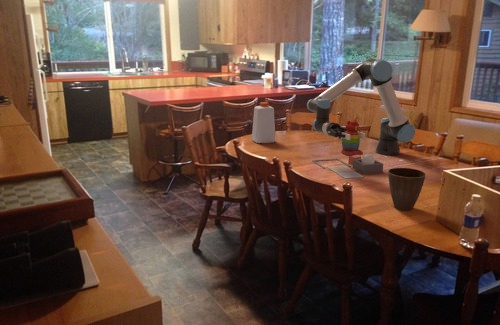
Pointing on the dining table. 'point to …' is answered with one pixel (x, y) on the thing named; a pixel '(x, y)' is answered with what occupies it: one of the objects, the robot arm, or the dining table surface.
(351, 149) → the stacking bear
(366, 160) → the dome
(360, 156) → the die
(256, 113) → the plastic bottle
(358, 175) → the track
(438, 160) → the dining table surface
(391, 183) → the plant pot
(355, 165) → the popper base
